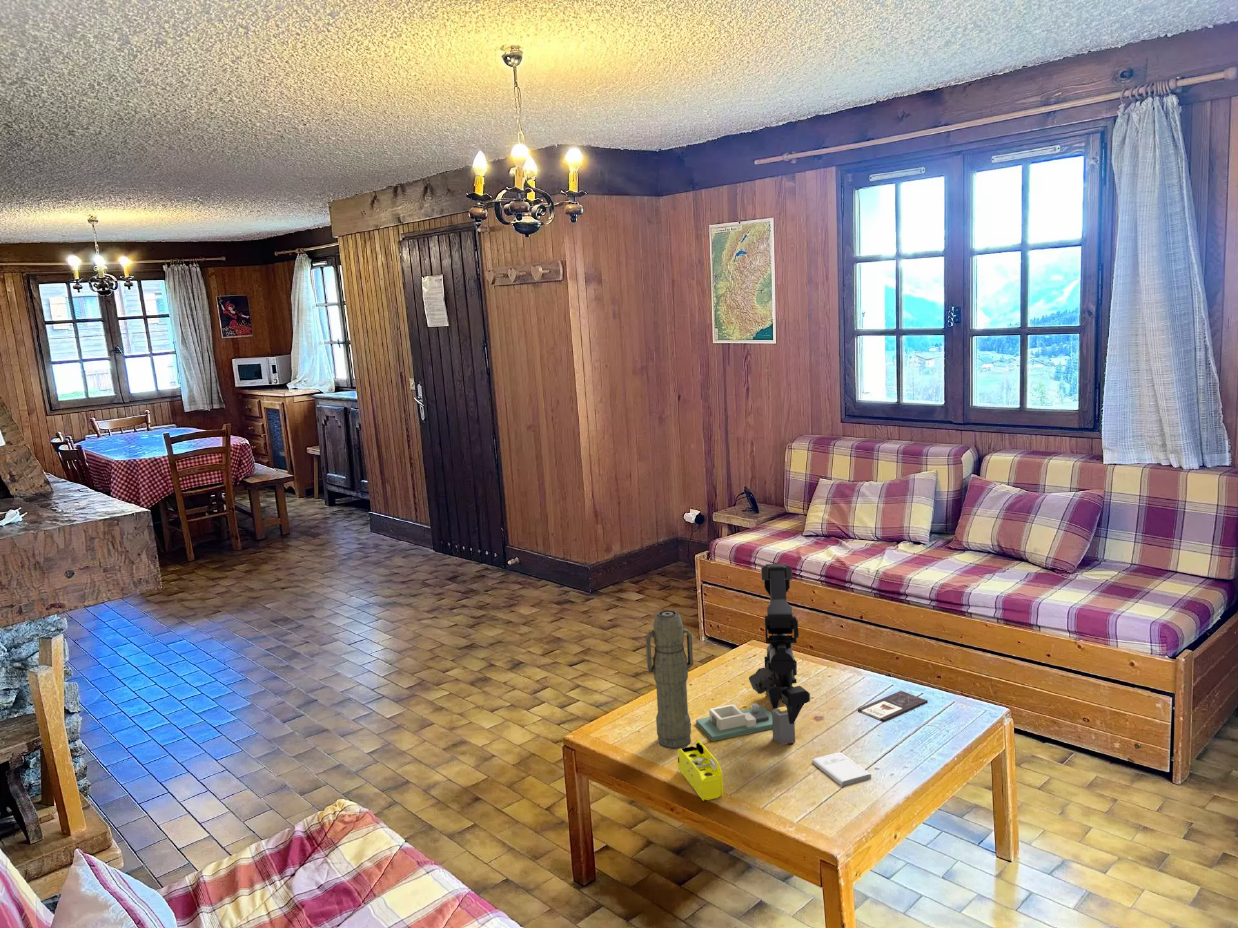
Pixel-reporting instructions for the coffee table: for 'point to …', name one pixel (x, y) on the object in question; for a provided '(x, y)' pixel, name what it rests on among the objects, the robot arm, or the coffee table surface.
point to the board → (735, 721)
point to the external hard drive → (841, 768)
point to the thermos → (671, 678)
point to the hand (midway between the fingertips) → (783, 716)
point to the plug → (782, 726)
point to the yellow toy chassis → (701, 771)
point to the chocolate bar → (892, 706)
